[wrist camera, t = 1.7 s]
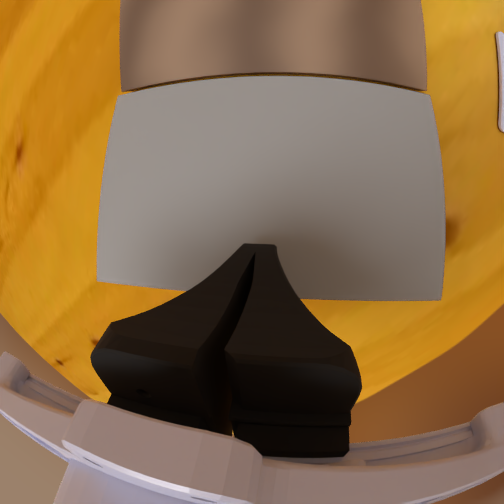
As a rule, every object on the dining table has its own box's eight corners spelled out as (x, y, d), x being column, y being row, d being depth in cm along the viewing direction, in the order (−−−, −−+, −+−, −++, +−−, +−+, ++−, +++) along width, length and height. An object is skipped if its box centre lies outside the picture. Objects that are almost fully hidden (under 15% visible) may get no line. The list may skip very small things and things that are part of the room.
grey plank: (422, 104, 12) (429, 95, 11) (430, 296, 12) (440, 300, 11) (127, 103, 15) (118, 95, 13) (109, 278, 15) (97, 281, 14)
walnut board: (407, -27, 8) (413, -33, 7) (418, 90, 12) (426, 90, 11) (131, -19, 10) (122, -23, 9) (131, 91, 15) (121, 91, 14)
